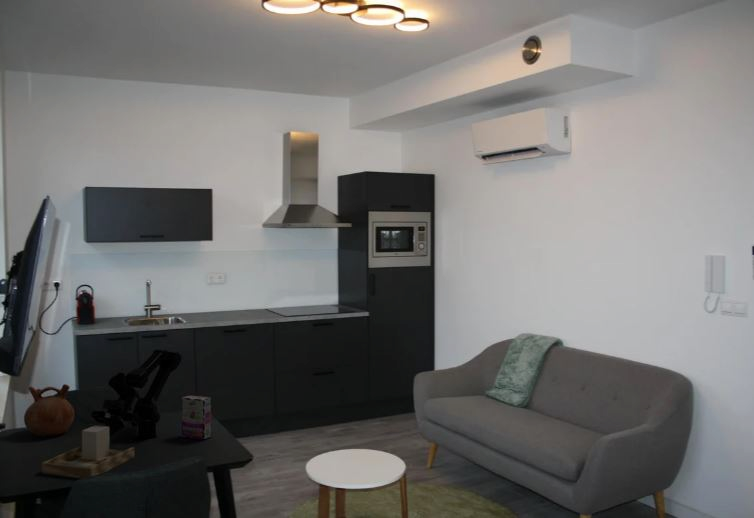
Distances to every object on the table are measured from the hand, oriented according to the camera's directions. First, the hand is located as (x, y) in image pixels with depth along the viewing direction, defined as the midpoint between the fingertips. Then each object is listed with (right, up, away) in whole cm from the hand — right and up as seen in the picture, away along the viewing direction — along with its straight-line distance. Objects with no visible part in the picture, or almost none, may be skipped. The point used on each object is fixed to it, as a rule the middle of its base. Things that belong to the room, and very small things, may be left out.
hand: (105, 438), depth 241 cm
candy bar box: (+27, -6, +25) cm, 37 cm away
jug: (-35, -6, +28) cm, 45 cm away
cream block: (-1, -5, -5) cm, 7 cm away
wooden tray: (-2, -7, -8) cm, 11 cm away
